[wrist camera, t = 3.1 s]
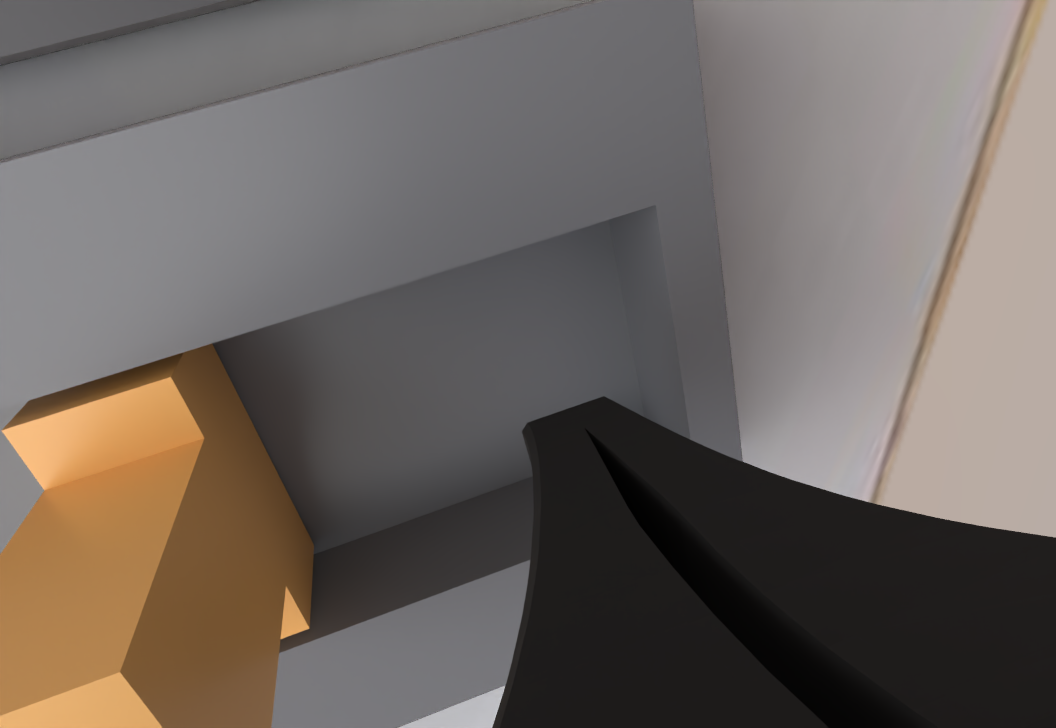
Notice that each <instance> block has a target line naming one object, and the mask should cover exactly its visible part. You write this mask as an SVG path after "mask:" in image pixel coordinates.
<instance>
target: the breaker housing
mask: <svg viewBox="0 0 1056 728" xmlns="http://www.w3.org/2000/svg"><path fill="white" fill-rule="evenodd" d="M254 1H258V0H0V66H1V65H5V64H9V63H13V62H17V61H20V60H24V59H28V58H32V57H36V56H40V55H44V54H48V53H52V52H56V51H60V50H64V49H68V48H72V47H76V46H80V45H84V44H88V43H92V42H96V41H100V40H104V39H108V38H112V37H116V36H120V35H123V34H127V33H131V32H135V31H139V30H143V29H147V28H151V27H155V26H159V25H163V24H167V23H171V22H175V21H179V20H183V19H187V18H191V17H195V16H199V15H203V14H207V13H211V12H215V11H219V10H223V9H226V8H230V7H234V6H238V5H242V4H246V3H250V2H254ZM209 344H213V346H214V348H215V350H216V352H217V354H218V356H219V358H220V360H221V362H222V364H223V366H224V368H225V370H226V372H227V374H228V376H229V378H230V380H231V382H232V384H233V386H234V388H235V390H236V392H237V394H238V396H239V398H240V400H241V402H242V404H243V406H244V408H245V410H246V412H247V413H248V415H249V417H250V419H251V421H252V423H253V425H254V427H255V429H256V431H257V433H258V435H259V437H260V439H261V441H262V443H263V445H264V447H265V449H266V451H267V453H268V455H269V457H270V459H271V461H272V463H273V465H274V467H275V469H276V471H277V473H278V475H279V477H280V479H281V481H282V483H283V485H284V487H285V489H286V491H287V493H288V495H289V496H290V498H291V500H292V502H293V504H294V506H295V508H296V510H297V512H298V514H299V516H300V518H301V520H302V522H303V524H304V526H305V528H306V530H307V532H308V534H309V536H310V538H311V540H312V542H313V544H314V557H313V576H312V594H311V613H310V629H307V630H304V631H302V632H299V633H296V634H293V635H291V636H288V637H285V638H283V639H280V649H279V658H278V668H277V678H276V687H275V697H274V707H273V716H272V726H271V728H398V727H400V726H403V725H405V724H408V723H411V722H413V721H416V720H418V719H421V718H423V717H426V716H428V715H431V714H433V713H436V712H438V711H441V710H444V709H446V708H449V707H451V706H454V705H456V704H459V703H461V702H464V701H466V700H469V699H471V698H474V697H476V696H479V695H482V694H484V693H487V692H489V691H492V690H494V689H497V688H499V687H502V686H504V685H506V682H507V678H508V675H509V671H510V667H511V663H512V659H513V654H514V650H515V646H516V641H517V637H518V632H519V628H520V623H521V619H522V613H523V608H524V602H525V596H526V590H527V583H528V576H529V568H530V560H531V547H532V532H533V517H534V500H533V473H532V466H531V462H530V459H529V455H528V452H527V448H526V445H525V441H524V438H523V434H522V430H523V429H524V427H525V425H526V424H527V423H528V422H531V421H533V420H536V419H539V418H542V417H545V416H548V415H551V414H554V413H557V412H559V411H562V410H565V409H568V408H571V407H574V406H577V405H580V404H582V403H585V402H588V401H591V400H594V399H597V398H600V397H603V396H605V397H607V398H609V399H611V400H613V401H615V402H616V403H618V404H620V405H622V406H624V407H626V408H628V409H630V410H632V411H634V412H636V413H638V414H640V415H641V416H643V417H645V418H647V419H649V420H651V421H653V422H655V423H657V424H659V425H661V426H663V427H665V428H667V429H669V430H671V431H673V432H675V433H677V434H679V435H682V436H684V437H686V438H688V439H690V440H692V441H694V442H697V443H699V444H701V445H703V446H706V447H708V448H710V449H712V450H715V451H717V452H719V453H722V454H724V455H727V456H729V457H731V458H734V459H737V460H739V461H742V451H741V442H740V433H739V424H738V414H737V405H736V396H735V387H734V377H733V368H732V359H731V350H730V340H729V331H728V322H727V313H726V304H725V294H724V285H723V276H722V267H721V257H720V248H719V239H718V230H717V220H716V211H715V202H714V193H713V183H712V174H711V165H710V156H709V146H708V137H707V128H706V119H705V109H704V100H703V91H702V82H701V73H700V63H699V54H698V45H697V36H696V26H695V17H694V8H693V0H594V1H590V2H586V3H583V4H579V5H575V6H572V7H568V8H564V9H560V10H557V11H553V12H549V13H546V14H542V15H538V16H534V17H531V18H527V19H523V20H520V21H516V22H512V23H508V24H505V25H501V26H497V27H493V28H490V29H486V30H482V31H479V32H475V33H471V34H467V35H464V36H460V37H456V38H453V39H449V40H445V41H441V42H438V43H434V44H430V45H427V46H423V47H419V48H415V49H412V50H408V51H404V52H401V53H397V54H393V55H389V56H386V57H382V58H378V59H374V60H371V61H367V62H363V63H360V64H356V65H352V66H348V67H345V68H341V69H337V70H334V71H330V72H326V73H322V74H319V75H315V76H311V77H308V78H304V79H300V80H296V81H293V82H289V83H285V84H281V85H278V86H274V87H270V88H267V89H263V90H259V91H255V92H252V93H248V94H244V95H241V96H237V97H233V98H229V99H226V100H222V101H218V102H215V103H211V104H207V105H203V106H200V107H196V108H192V109H188V110H185V111H181V112H177V113H174V114H170V115H166V116H162V117H159V118H155V119H151V120H148V121H144V122H140V123H136V124H133V125H129V126H125V127H122V128H118V129H114V130H110V131H107V132H103V133H99V134H95V135H92V136H88V137H84V138H81V139H77V140H73V141H69V142H66V143H62V144H58V145H55V146H51V147H47V148H43V149H40V150H36V151H32V152H29V153H25V154H21V155H17V156H14V157H10V158H6V159H3V160H0V554H1V553H2V551H3V550H4V548H5V547H6V545H7V544H8V542H9V541H10V540H11V538H12V537H13V535H14V534H15V532H16V531H17V529H18V528H19V527H20V525H21V524H22V522H23V521H24V519H25V518H26V516H27V515H28V513H29V512H30V511H31V509H32V508H33V506H34V505H35V503H36V502H37V500H38V499H39V498H40V496H41V495H42V493H43V492H44V489H43V488H42V486H41V485H40V484H39V482H38V481H37V479H36V478H35V477H34V475H33V474H32V472H31V471H30V470H29V468H28V467H27V465H26V464H25V463H24V461H23V460H22V458H21V457H20V456H19V454H18V453H17V452H16V450H15V449H14V447H13V446H12V445H11V443H10V442H9V440H8V439H7V438H6V436H5V435H4V433H3V432H2V431H1V430H2V429H3V428H4V427H5V426H6V425H7V424H8V423H9V422H10V421H11V420H12V419H13V417H14V416H15V415H16V414H17V413H18V412H19V411H20V410H21V409H22V408H23V407H24V405H25V404H26V403H27V402H28V401H29V400H32V399H36V398H39V397H42V396H45V395H48V394H52V393H55V392H58V391H61V390H65V389H68V388H71V387H74V386H77V385H81V384H84V383H87V382H90V381H93V380H97V379H100V378H103V377H106V376H109V375H113V374H116V373H119V372H122V371H125V370H129V369H132V368H135V367H138V366H141V365H145V364H148V363H151V362H154V361H157V360H161V359H164V358H167V357H170V356H173V355H177V354H180V353H183V352H186V351H189V350H193V349H196V348H199V347H202V346H205V345H209ZM742 462H743V461H742Z"/></svg>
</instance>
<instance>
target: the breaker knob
mask: <svg viewBox="0 0 1056 728" xmlns="http://www.w3.org/2000/svg"><path fill="white" fill-rule="evenodd" d="M1 431H2V432H3V433H4V435H5V436H6V438H7V439H8V440H9V442H10V443H11V445H12V446H13V447H14V449H15V450H16V452H17V453H18V454H19V456H20V457H21V458H22V460H23V461H24V463H25V464H26V465H27V467H28V468H29V470H30V471H31V472H32V474H33V475H34V477H35V478H36V479H37V481H38V482H39V484H40V485H41V486H42V488H43V489H44V492H43V493H42V495H41V496H40V498H39V499H38V500H37V502H36V503H35V505H34V506H33V508H32V509H31V511H30V512H29V513H28V515H27V516H26V518H25V519H24V521H23V522H22V524H21V525H20V527H19V528H18V529H17V531H16V532H15V534H14V535H13V537H12V538H11V540H10V541H9V542H8V544H7V545H6V547H5V548H4V550H3V551H2V553H1V554H0V728H271V726H272V716H273V707H274V697H275V687H276V678H277V668H278V658H279V649H280V639H283V638H285V637H288V636H291V635H293V634H296V633H299V632H302V631H304V630H307V629H310V613H311V594H312V576H313V557H314V544H313V542H312V540H311V538H310V536H309V534H308V532H307V530H306V528H305V526H304V524H303V522H302V520H301V518H300V516H299V514H298V512H297V510H296V508H295V506H294V504H293V502H292V500H291V498H290V496H289V495H288V493H287V491H286V489H285V487H284V485H283V483H282V481H281V479H280V477H279V475H278V473H277V471H276V469H275V467H274V465H273V463H272V461H271V459H270V457H269V455H268V453H267V451H266V449H265V447H264V445H263V443H262V441H261V439H260V437H259V435H258V433H257V431H256V429H255V427H254V425H253V423H252V421H251V419H250V417H249V415H248V413H247V412H246V410H245V408H244V406H243V404H242V402H241V400H240V398H239V396H238V394H237V392H236V390H235V388H234V386H233V384H232V382H231V380H230V378H229V376H228V374H227V372H226V370H225V368H224V366H223V364H222V362H221V360H220V358H219V356H218V354H217V352H216V350H215V348H214V346H213V344H209V345H205V346H202V347H199V348H196V349H193V350H189V351H186V352H183V353H180V354H177V355H173V356H170V357H167V358H164V359H161V360H157V361H154V362H151V363H148V364H145V365H141V366H138V367H135V368H132V369H129V370H125V371H122V372H119V373H116V374H113V375H109V376H106V377H103V378H100V379H97V380H93V381H90V382H87V383H84V384H81V385H77V386H74V387H71V388H68V389H65V390H61V391H58V392H55V393H52V394H48V395H45V396H42V397H39V398H36V399H32V400H29V401H28V402H27V403H26V404H25V405H24V407H23V408H22V409H21V410H20V411H19V412H18V413H17V414H16V415H15V416H14V417H13V419H12V420H11V421H10V422H9V423H8V424H7V425H6V426H5V427H4V428H3V429H2V430H1Z"/></svg>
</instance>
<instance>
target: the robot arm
mask: <svg viewBox="0 0 1056 728" xmlns="http://www.w3.org/2000/svg"><path fill="white" fill-rule="evenodd" d="M522 434H523V438H524V441H525V445H526V448H527V452H528V455H529V459H530V462H531V466H532V473H533V500H534V517H533V532H532V547H531V560H530V568H529V576H528V583H527V590H526V596H525V602H524V608H523V613H522V619H521V623H520V628H519V632H518V637H517V641H516V646H515V650H514V654H513V659H512V663H511V667H510V671H509V675H508V678H507V682H506V686H505V689H504V693H503V696H502V699H501V703H500V706H499V709H498V712H497V715H496V718H495V721H494V724H493V727H492V728H1056V538H1053V537H1047V536H1041V535H1035V534H1028V533H1021V532H1015V531H1008V530H1002V529H995V528H989V527H983V526H977V525H972V524H966V523H961V522H955V521H950V520H945V519H940V518H935V517H931V516H926V515H922V514H917V513H912V512H908V511H904V510H899V509H895V508H890V507H886V506H881V505H877V504H873V503H869V502H865V501H862V500H858V499H854V498H850V497H846V496H843V495H839V494H836V493H833V492H830V491H826V490H823V489H820V488H816V487H813V486H810V485H806V484H803V483H800V482H797V481H793V480H790V479H788V478H785V477H782V476H779V475H776V474H773V473H770V472H767V471H765V470H762V469H760V468H757V467H755V466H752V465H749V464H747V463H744V462H742V461H739V460H737V459H734V458H731V457H729V456H727V455H724V454H722V453H719V452H717V451H715V450H712V449H710V448H708V447H706V446H703V445H701V444H699V443H697V442H694V441H692V440H690V439H688V438H686V437H684V436H682V435H679V434H677V433H675V432H673V431H671V430H669V429H667V428H665V427H663V426H661V425H659V424H657V423H655V422H653V421H651V420H649V419H647V418H645V417H643V416H641V415H640V414H638V413H636V412H634V411H632V410H630V409H628V408H626V407H624V406H622V405H620V404H618V403H616V402H615V401H613V400H611V399H609V398H607V397H605V396H603V397H600V398H597V399H594V400H591V401H588V402H585V403H582V404H580V405H577V406H574V407H571V408H568V409H565V410H562V411H559V412H557V413H554V414H551V415H548V416H545V417H542V418H539V419H536V420H533V421H531V422H528V423H527V424H526V425H525V427H524V429H523V430H522Z"/></svg>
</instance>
